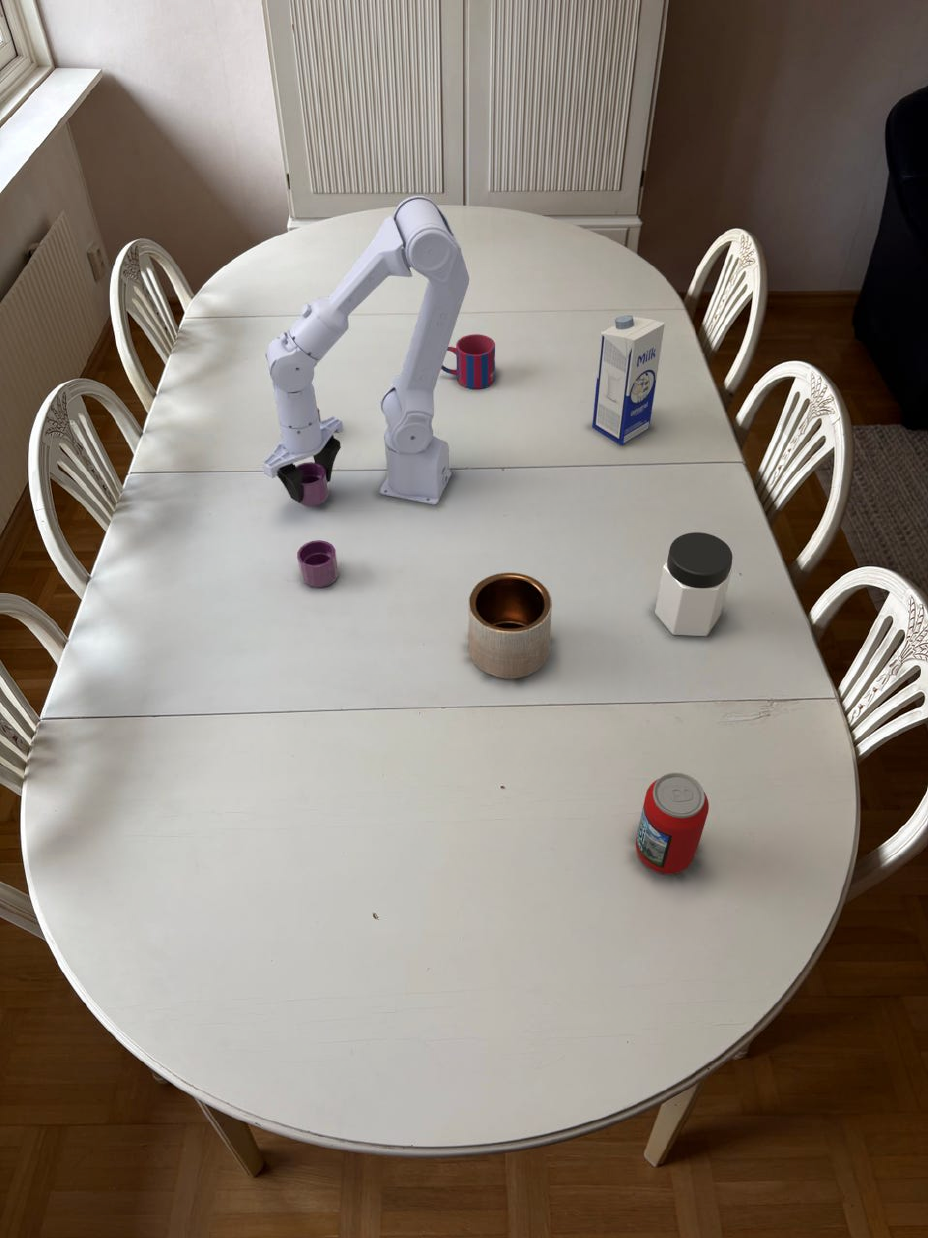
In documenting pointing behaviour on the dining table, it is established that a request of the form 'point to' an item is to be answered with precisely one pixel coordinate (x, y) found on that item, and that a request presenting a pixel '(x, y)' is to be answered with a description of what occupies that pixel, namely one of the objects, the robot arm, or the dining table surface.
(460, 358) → the mug
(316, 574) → the purple small cup
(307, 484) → the dish
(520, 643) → the planter
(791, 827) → the dining table surface
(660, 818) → the beverage can
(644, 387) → the milk carton
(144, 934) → the dining table surface
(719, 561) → the jar
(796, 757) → the dining table surface
